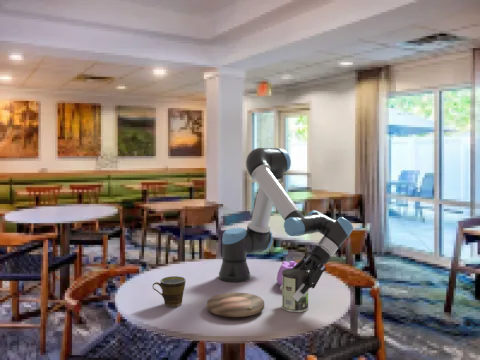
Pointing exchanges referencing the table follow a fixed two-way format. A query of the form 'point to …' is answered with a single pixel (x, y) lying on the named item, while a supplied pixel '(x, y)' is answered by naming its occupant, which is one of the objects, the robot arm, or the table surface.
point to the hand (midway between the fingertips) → (288, 294)
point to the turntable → (235, 304)
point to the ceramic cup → (172, 290)
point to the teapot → (284, 266)
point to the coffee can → (294, 290)
